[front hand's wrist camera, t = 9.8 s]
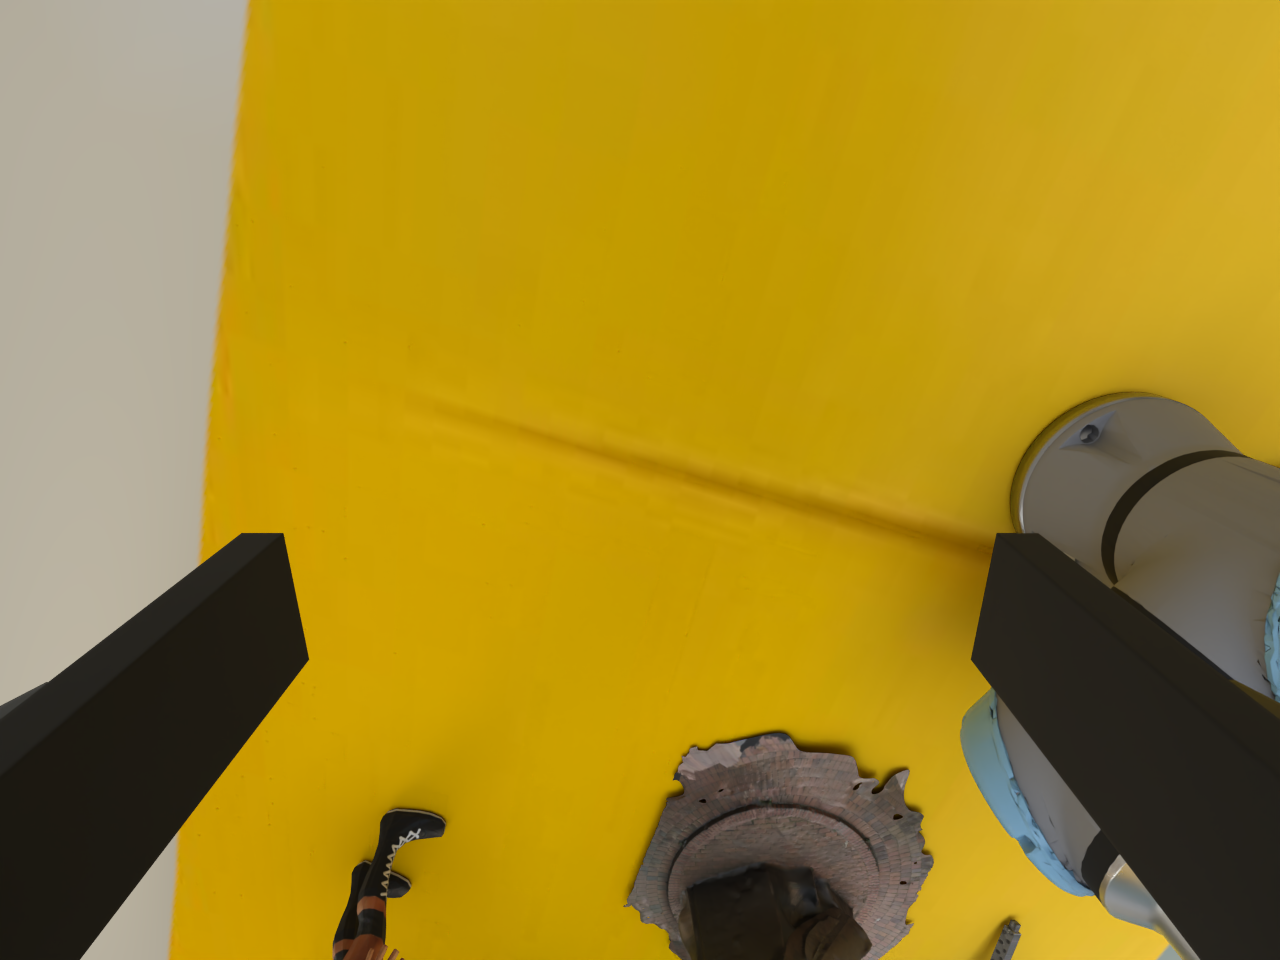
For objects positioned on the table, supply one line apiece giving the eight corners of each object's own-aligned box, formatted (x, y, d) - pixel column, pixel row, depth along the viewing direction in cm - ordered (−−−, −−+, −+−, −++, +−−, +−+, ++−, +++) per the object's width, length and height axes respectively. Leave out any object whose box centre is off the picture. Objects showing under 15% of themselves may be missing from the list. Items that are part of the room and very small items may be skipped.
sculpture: (547, 912, 70) (522, 1097, 55) (747, 678, 60) (782, 827, 45) (798, 1026, 77) (836, 1219, 62) (1018, 831, 66) (1127, 1006, 51)
